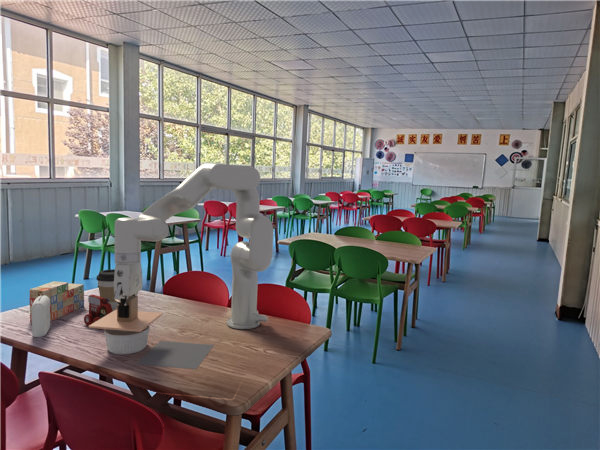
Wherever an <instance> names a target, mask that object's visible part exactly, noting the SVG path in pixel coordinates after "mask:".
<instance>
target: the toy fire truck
mask: <svg viewBox="0 0 600 450" xmlns="http://www.w3.org/2000/svg"><path fill="white" fill-rule="evenodd" d="M87 298H88V301H87V302H88V313H87V314H85V315H84V317H83V322H84V324H85V325H86V326H88V327H89V325H91V324H93V323H94V322H96V321H98V320H99V319H101V318H103V317H104V316H106V315H108V314H109V313H111V312H113V311H114V310H112V307H111V304H110V303H108V302H109V299H108V298H103V297H100V295H96V294H90V295H89V296H88V297H87ZM95 329H96V330H98V329H97V328H95Z"/></svg>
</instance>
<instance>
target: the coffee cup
mask: <svg viewBox="0 0 600 450" xmlns="http://www.w3.org/2000/svg"><path fill="white" fill-rule="evenodd" d="M114 274H115V268H113V269H111V268H110V269H105V270H100V271H99V272H98V274H97V275H96V279H95V280H97V284H98V293H99V296H100V297H103V298H108V299H109V302H108V303H110V304H111V307H112V310H113V311H114V310H117V301H116V300H115V299H114V297H115V294H114ZM121 295H124V293H122V294H121Z"/></svg>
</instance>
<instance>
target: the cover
mask: <svg viewBox="0 0 600 450" xmlns="http://www.w3.org/2000/svg"><path fill="white" fill-rule="evenodd" d="M122 298H123V299H124V300H125V297H122ZM138 303H139V295H137V296H129V297H128V305H129V317H128V318H119V317H118V305H117V310H113V312H111V313H109V314H108V315H106V316H104V317H103V318H101V319H99V320H98V321H96V322H94V323H93V324H91V325H89V326H88V329H96V328H97V329H96V330H99V329H100V330H105V329H110V330H123V331H136V332H141V331H142V330H144V329H145V328H146V327H147V326H150V325H151V324H153V323H154V322H155V321H156V320H158V319H159V318H160V317H161V316H162V315H163V312H154V311H153V312H151V311H142V310H141V311H140V310H138V309H139V307H138V306H139V304H138Z"/></svg>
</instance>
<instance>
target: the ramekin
mask: <svg viewBox="0 0 600 450" xmlns="http://www.w3.org/2000/svg"><path fill="white" fill-rule="evenodd" d="M150 329H151V328H150V325H149V326H147V327H146V328H145V329H144V330H142V331H141V332H136V331H123V330H110V329H104V332H103V334H104V336H105V343H106V344H105V345H106V348H107V350H108V352H110V353H111V354H114V355H129V354H130V355H131V354H135V353H140V351H143V350H145V348H146V347H147V345H148V341H149V332H150Z"/></svg>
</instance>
